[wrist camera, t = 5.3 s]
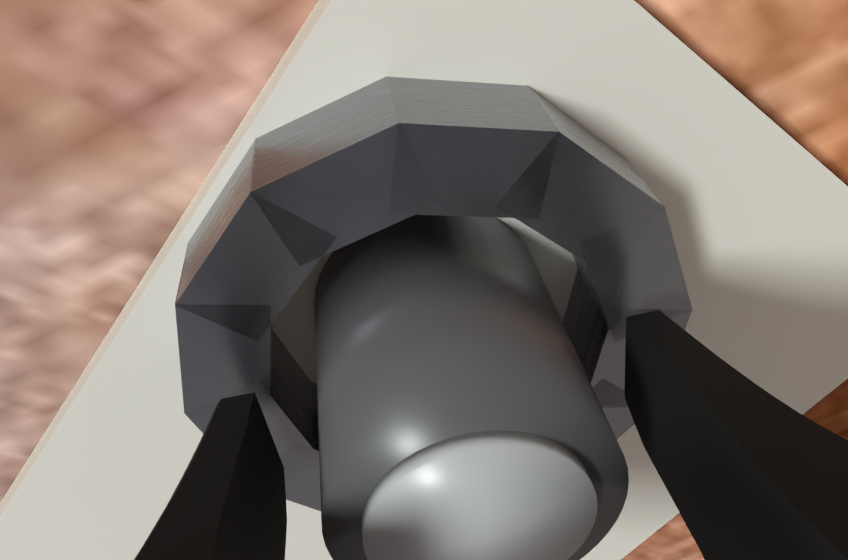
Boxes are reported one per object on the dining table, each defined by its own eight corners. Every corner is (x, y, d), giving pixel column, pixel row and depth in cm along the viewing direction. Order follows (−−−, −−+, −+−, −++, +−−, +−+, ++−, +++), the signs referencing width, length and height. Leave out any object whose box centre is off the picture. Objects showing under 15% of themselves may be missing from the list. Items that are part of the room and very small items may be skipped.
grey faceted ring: (461, 498, 20) (476, 564, 18) (109, 363, 16) (88, 432, 14) (735, 236, 16) (783, 291, 15) (366, -33, 12) (377, 2, 10)
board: (450, 662, 27) (455, 691, 26) (-24, 540, 20) (-37, 573, 19) (934, 263, 19) (962, 286, 18) (429, -176, 12) (439, -170, 11)
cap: (448, 411, 18) (501, 644, 13) (271, 333, 16) (260, 576, 11) (582, 269, 16) (699, 482, 12) (401, 160, 14) (453, 365, 9)
